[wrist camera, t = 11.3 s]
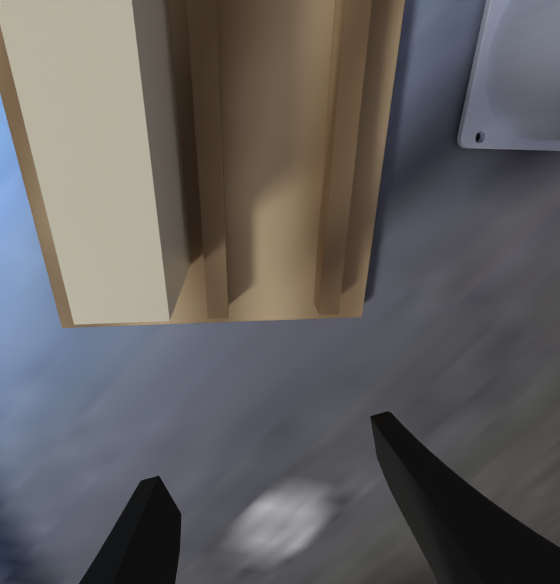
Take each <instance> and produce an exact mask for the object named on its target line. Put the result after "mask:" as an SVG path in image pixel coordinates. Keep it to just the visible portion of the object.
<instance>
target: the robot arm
mask: <svg viewBox="0 0 560 584" xmlns="http://www.w3.org/2000/svg"><path fill="white" fill-rule="evenodd" d="M478 132H479V134H480V139H479V141H478V142H476V140H475V137H476V135H477V133H478ZM457 143H458V145H459V146H460V147H462V148H477V149H510V150H543V151H560V0H486V3H485V8H484V13H483V18H482V22H481V27H480V32H479V36H478V41H477V46H476V51H475V55H474V60H473V65H472V69H471V74H470V79H469V84H468V88H467V93H466V98H465V102H464V107H463V112H462V117H461V121H460V126H459V131H458V135H457ZM370 417H371V423H372V429H373V435H374V441H375V448H376V454H377V459H378V461H379V464H380V466H381V469H382V471H383V474H384V476H385V479H386V481H387V483H388V486H389V488H390V491H391V492H392V494H393V496H394V498H395V500H396V502H397V504H398V506H399V508H400V510H401V512H402V514H403V516H404V518H405V519H406V521H407V523H408V525H409V527H410V529H411V531H412V533H413V535H414V537H415V538H416V540H417V542H418V544H419V546H420V548H421V550H422V552H423V554H424V556H425V558H426V559H427V561H428V563H429V565H430V567H431V569H432V571H433V573H434V575H435V577H436V580H437V582H438V584H560V547H558V546H557V545H555V544H553V543H552V542H550V541H549V540H547V539H545V538H544V537H542V536H541V535H539V534H537V533H536V532H534V531H533V530H531V529H530V528H529V527H527V526H526V525H524V524H523V523H521V522H520V521H518V520H517V519H515V518H514V517H512V516H511V515H510V514H508V513H507V512H505V511H504V510H503V509H501V508H500V507H498V506H497V505H496V504H494V503H493V502H491V501H490V500H489V499H487V498H486V497H485V496H483V495H482V494H481V493H480V492H478V491H477V490H476V489H474V488H473V487H472V486H471V485H469V484H468V483H467V482H466V481H464V480H463V479H462V478H461V477H459V476H458V475H457V474H456V473H455V472H453V471H452V470H451V469H450V468H449V467H447V466H446V465H445V464H444V463H443V462H442V461H441V460H439V459H438V458H437V457H436V456H435V455H434V454H433V453H431V452H430V451H429V450H428V449H427V448H426V447H425V446H424V445H423V444H422V443H420V442H419V441H418V440H417V439H416V438H415V437H414V436H413V435H412V434H411V433H410V432H409V431H408V430H407V429H406V428H405V427H404V426H403V425H402V424H401V423H400V422H399V421H398V420H397V419H396V417H395V416H394V415H393V414H392V413H390V412H388V411H387V412H384V413H380V414H377V415H373V416H370ZM180 536H181V513H180V511H179V509H178V508H177V506H176V504H175V502H174V501H173V499H172V497H171V496H170V494H169V492H168V490H167V489H166V487H165V485H164V483H163V482H162V480H161V478H160V477H159V476H156V477H153V478H149V479H145V480H142V481H141V482H140V483H139V485H138V487H137V488H136V490H135V491H134V493H133V495H132V497H131V498H130V500H129V502H128V503H127V505H126V507H125V509H124V510H123V512H122V514H121V516H120V517H119V519H118V521H117V522H116V524H115V526H114V528H113V529H112V531H111V533H110V534H109V536H108V538H107V539H106V541H105V543H104V544H103V546H102V548H101V549H100V551H99V553H98V554H97V556H96V558H95V559H94V561H93V562H92V564H91V566H90V567H89V569H88V570H87V572H86V574H85V575H84V577H83V578H82V580H81V581H80V583H79V584H175V580H176V573H177V566H178V559H179V552H180Z"/></svg>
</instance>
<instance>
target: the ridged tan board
mask: <svg viewBox="0 0 560 584" xmlns="http://www.w3.org/2000/svg"><path fill="white" fill-rule="evenodd" d="M404 4H405V0H169V10H170V21H171V33H172V45H173V57H174V69H175V81H176V93H177V105H178V117H179V129H180V141H181V152H182V164H183V176H184V188H185V200H186V212H187V224H188V236H189V248H190V260H191V266H190V268H189V271H188V274H187V276H186V279H185V282H184V284H183V287H182V290H181V292H180V295H179V298H178V300H177V303H176V306H175V308H174V311H173V314H172V316H171V319H170V321H160V322H132V323H104V324H77V325H74V322H73V318H72V314H71V310H70V306H69V302H68V298H67V294H66V290H65V286H64V282H63V278H62V274H61V270H60V265H59V261H58V257H57V253H56V249H55V245H54V241H53V237H52V233H51V229H50V225H49V221H48V217H47V213H46V209H45V205H44V201H43V197H42V193H41V188H40V184H39V180H38V176H37V172H36V168H35V164H34V160H33V156H32V152H31V148H30V144H29V140H28V136H27V132H26V128H25V124H24V120H23V115H22V111H21V107H20V103H19V99H18V95H17V91H16V87H15V83H14V79H13V75H12V71H11V67H10V63H9V59H8V55H7V51H6V47H5V42H4V38H3V34H2V30H1V26H0V94H1V98H2V101H3V105H4V109H5V113H6V117H7V120H8V124H9V128H10V132H11V136H12V139H13V143H14V147H15V151H16V155H17V158H18V162H19V166H20V170H21V174H22V177H23V181H24V185H25V189H26V193H27V196H28V200H29V204H30V208H31V212H32V215H33V219H34V223H35V227H36V231H37V234H38V238H39V242H40V246H41V250H42V253H43V257H44V261H45V265H46V269H47V272H48V276H49V280H50V284H51V288H52V291H53V295H54V299H55V303H56V307H57V310H58V314H59V318H60V322H61V326H62V328H73V327H100V326H127V325H155V324H182V323H209V322H236V321H264V320H291V319H318V318H346V317H362V312H363V305H364V297H365V290H366V283H367V275H368V268H369V261H370V253H371V246H372V239H373V231H374V224H375V217H376V209H377V202H378V195H379V187H380V180H381V173H382V165H383V158H384V151H385V143H386V136H387V129H388V122H389V114H390V107H391V100H392V92H393V85H394V78H395V70H396V63H397V56H398V48H399V41H400V34H401V26H402V19H403V12H404Z"/></svg>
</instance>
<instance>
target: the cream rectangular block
mask: <svg viewBox="0 0 560 584" xmlns="http://www.w3.org/2000/svg"><path fill="white" fill-rule="evenodd" d="M0 26H1V30H2V34H3V38H4V42H5V47H6V51H7V55H8V59H9V63H10V67H11V71H12V75H13V79H14V83H15V87H16V91H17V95H18V99H19V103H20V107H21V111H22V115H23V120H24V124H25V128H26V132H27V136H28V140H29V144H30V148H31V152H32V156H33V160H34V164H35V168H36V172H37V176H38V180H39V184H40V188H41V193H42V197H43V201H44V205H45V209H46V213H47V217H48V221H49V225H50V229H51V233H52V237H53V241H54V245H55V249H56V253H57V257H58V261H59V265H60V270H61V274H62V278H63V282H64V286H65V290H66V294H67V298H68V302H69V306H70V310H71V314H72V318H73V322H74V325H77V324H104V323H132V322H160V321H170V319H171V316H172V314H173V311H174V308H175V306H176V303H177V300H178V298H179V295H180V292H181V290H182V287H183V284H184V282H185V279H186V276H187V274H188V271H189V268H190V266H191V260H190V248H189V236H188V224H187V212H186V200H185V188H184V176H183V164H182V152H181V141H180V129H179V117H178V105H177V93H176V81H175V69H174V57H173V45H172V33H171V21H170V10H169V0H0Z"/></svg>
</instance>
